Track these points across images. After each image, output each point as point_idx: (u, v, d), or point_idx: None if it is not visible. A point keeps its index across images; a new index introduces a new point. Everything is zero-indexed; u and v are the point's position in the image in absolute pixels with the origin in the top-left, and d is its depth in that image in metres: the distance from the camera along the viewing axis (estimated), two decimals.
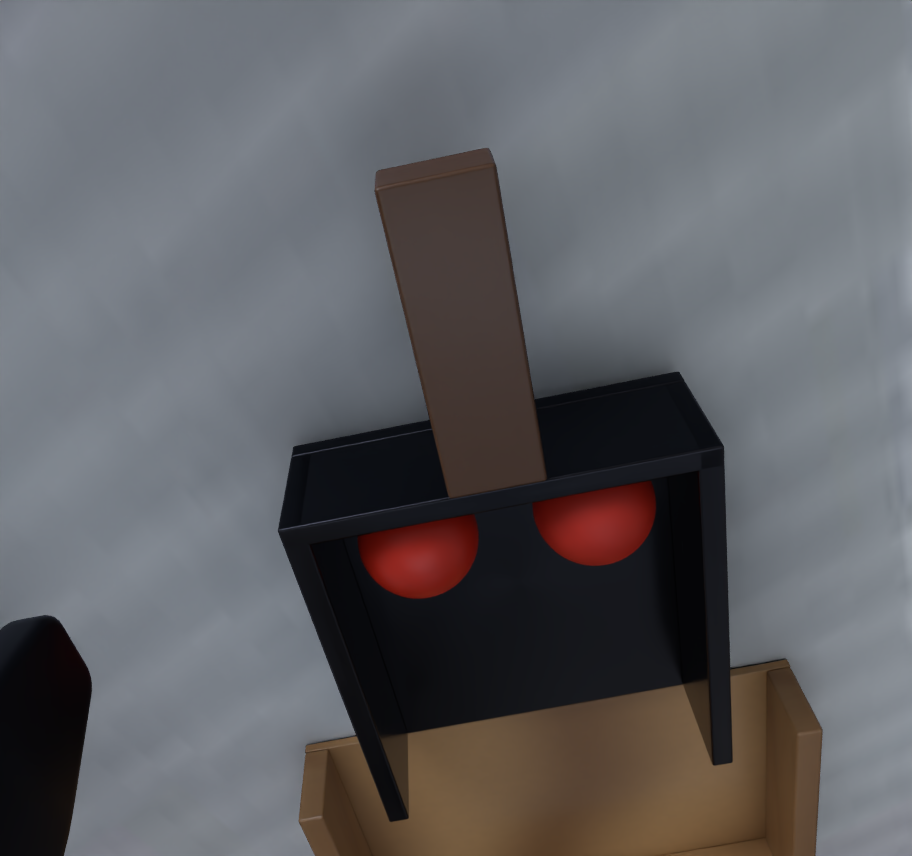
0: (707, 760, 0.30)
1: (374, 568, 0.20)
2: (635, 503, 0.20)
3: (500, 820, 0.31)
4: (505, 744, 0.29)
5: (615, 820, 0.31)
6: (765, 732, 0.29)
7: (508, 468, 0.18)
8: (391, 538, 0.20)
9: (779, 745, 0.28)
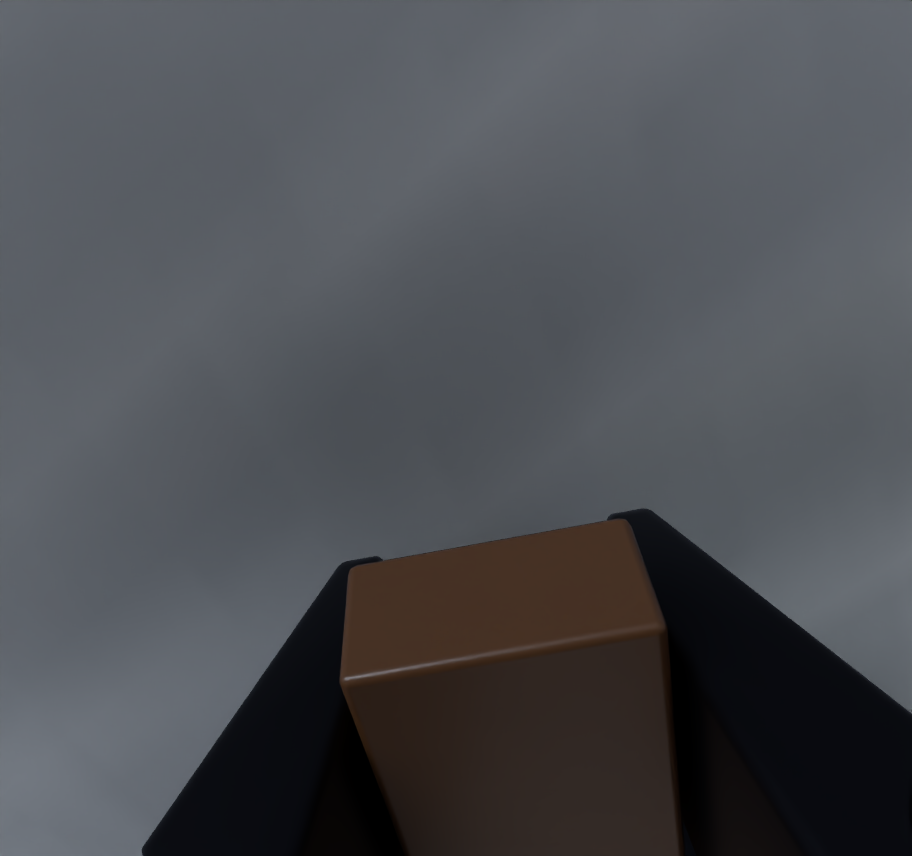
0: None
1: None
2: None
3: None
4: None
5: None
6: None
7: None
8: None
9: None
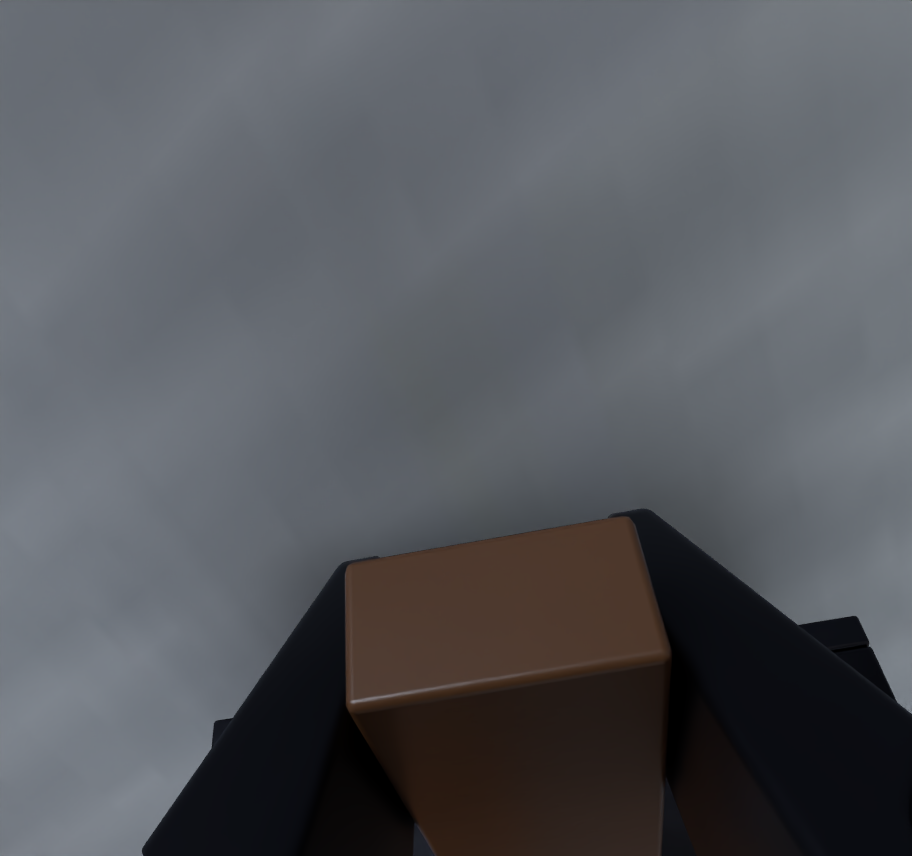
0: None
1: None
2: None
3: None
4: None
5: None
6: None
7: None
8: None
9: None
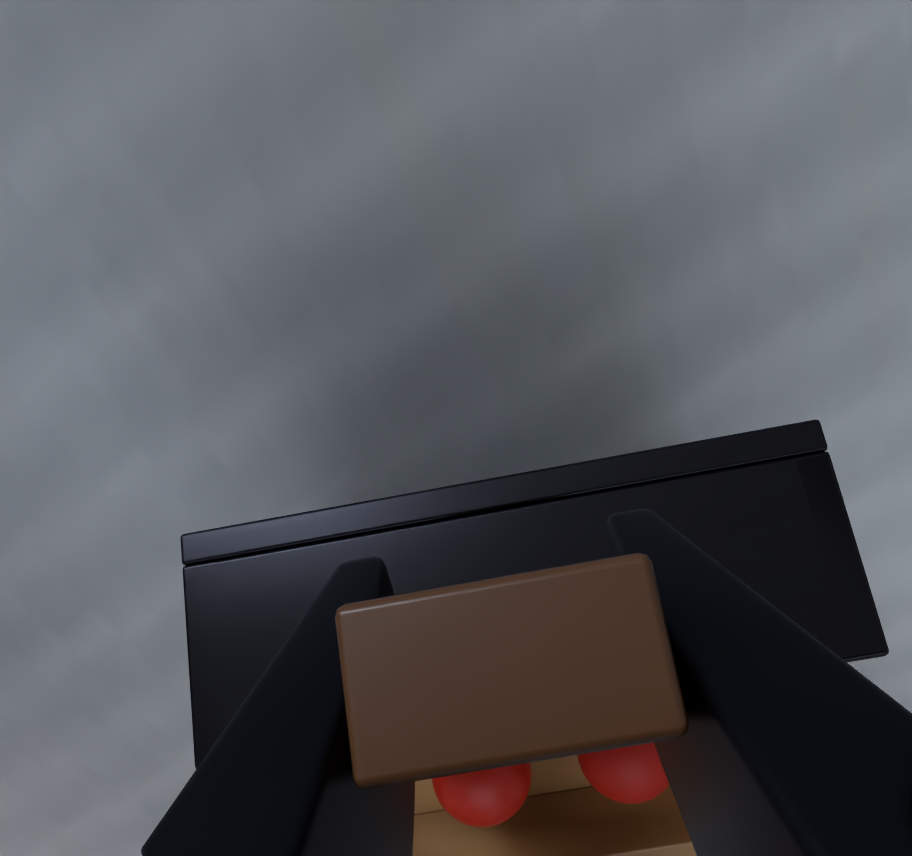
0: None
1: None
2: None
3: None
4: None
5: None
6: None
7: None
8: None
9: None
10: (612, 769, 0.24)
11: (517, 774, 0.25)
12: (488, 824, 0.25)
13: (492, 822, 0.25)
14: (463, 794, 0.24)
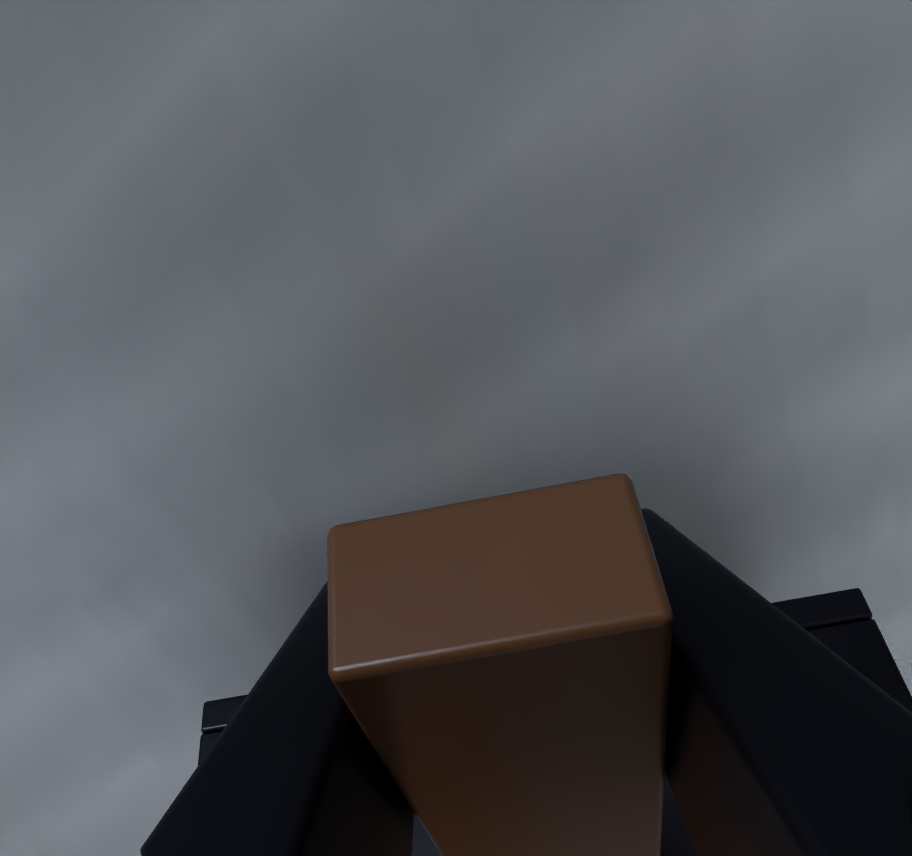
0: None
1: None
2: None
3: None
4: None
5: None
6: None
7: None
8: None
9: None
10: None
11: None
12: None
13: None
14: None
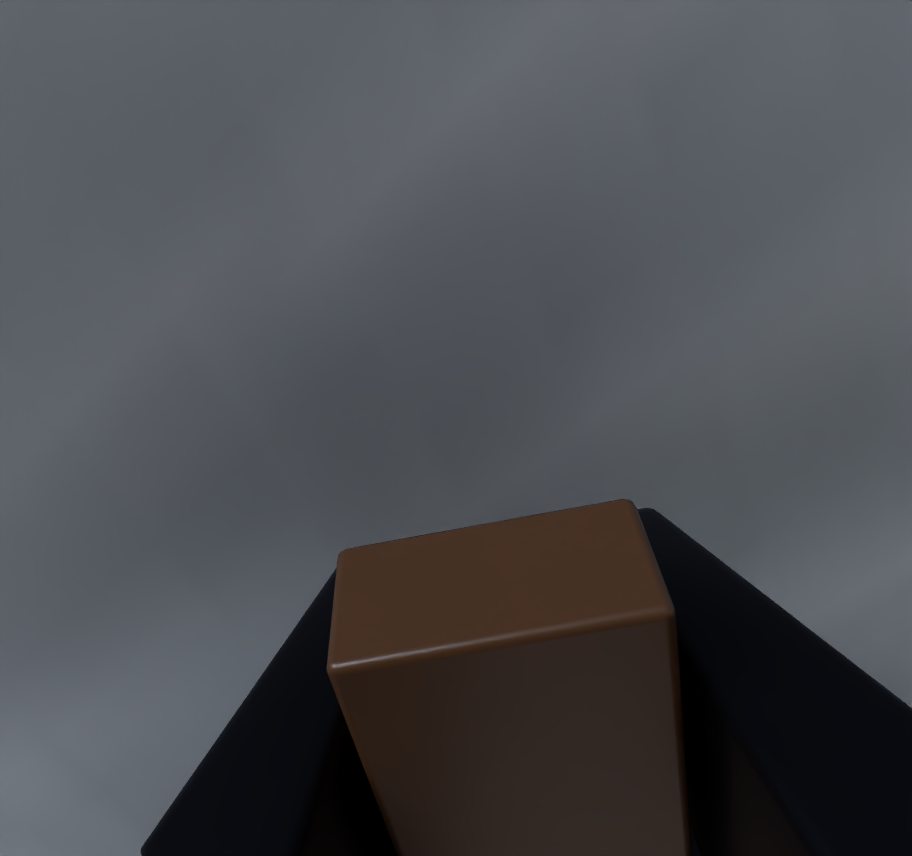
0: None
1: None
2: None
3: None
4: None
5: None
6: None
7: None
8: None
9: None
10: None
11: None
12: None
13: None
14: None
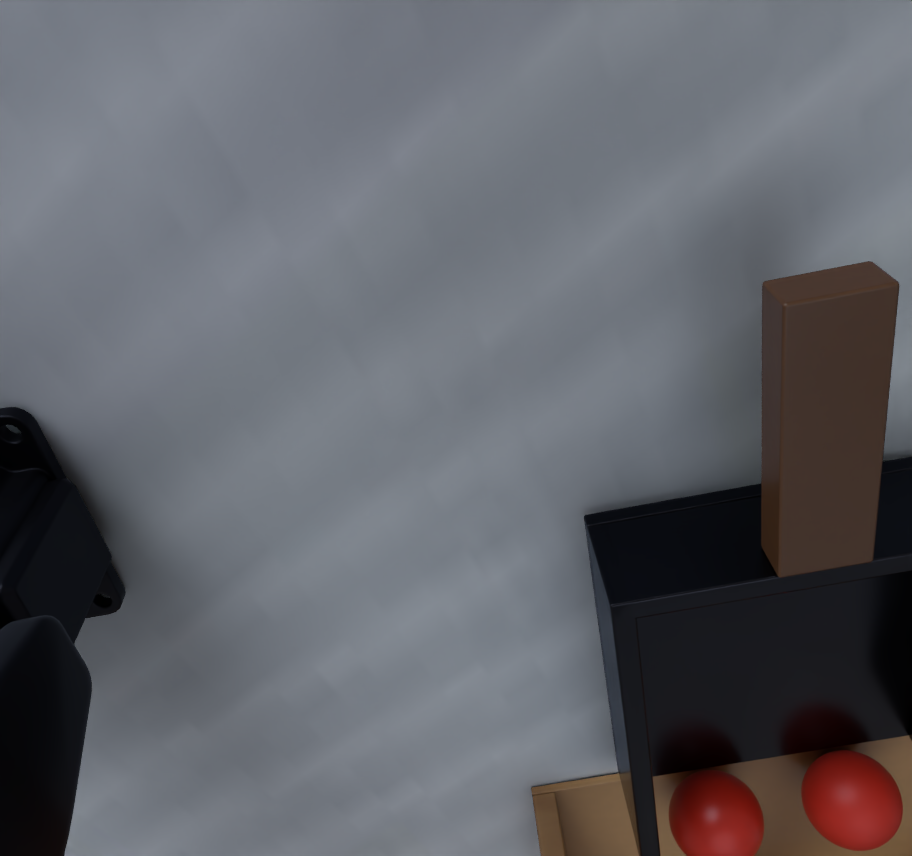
0: (910, 804, 0.31)
1: None
2: None
3: None
4: None
5: None
6: None
7: (840, 551, 0.20)
8: None
9: None
10: None
11: None
12: None
13: None
14: None
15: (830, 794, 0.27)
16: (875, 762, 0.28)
